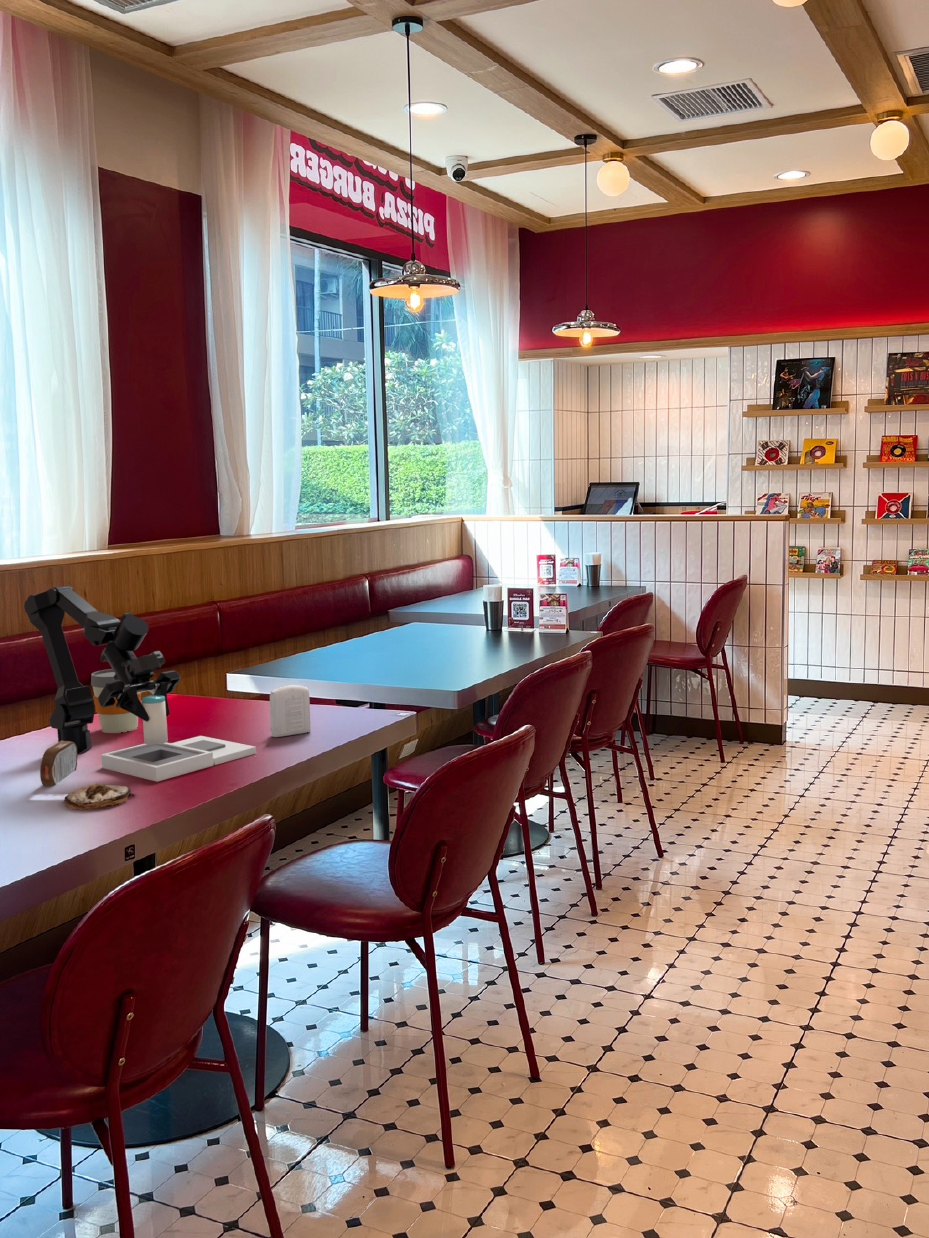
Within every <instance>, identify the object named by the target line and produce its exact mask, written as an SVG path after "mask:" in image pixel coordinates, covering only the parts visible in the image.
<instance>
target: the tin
mask: <svg viewBox="0 0 929 1238" xmlns="http://www.w3.org/2000/svg"><path fill="white" fill-rule="evenodd" d="M77 766H78V753H77V746H76V744H75V743H74V742H71V741H60V742H58V741H57V743H55V744H53V745H52V746H50V747H48V748H46V750H45V751H44V752H43V754H42V758H41V760H40V770H39V777H40V778H39V779H40V782H41V785H42V786H50V787H51V786H56V785H57V784H58V783H60V782H61V781H62V780H64V779H65V778H67V777H68V776H69V775H71V774H72V773H74V772H76V771H77Z"/></svg>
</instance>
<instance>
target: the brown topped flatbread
mask: <svg viewBox="0 0 929 1238" xmlns="http://www.w3.org/2000/svg"><path fill="white" fill-rule="evenodd" d="M130 793H131V789H130V788H129V787H128V786H125V785H118V784H117V785H116V784H103V783H102V784H100V783H94V784H89V785H87V786H82V787H81V788H79V789H78V788H77V789H75V790H74V791H72V792H69V793H67V795H66V796H65V797H64V802H63V804H65V807H67V808H68V809H71V810H76V811H78V809H79V811H80V810H81V811H87V810H88V809H94V810H103V809H109V808H113V807H117V806H120V805H119V804H121V803H124V804H125V803H127V801H128V799H129V794H130ZM127 798H128V799H127ZM126 800H127V801H126ZM116 805H117V806H116ZM121 805H122V804H121ZM88 811H89V810H88Z"/></svg>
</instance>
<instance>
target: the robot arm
mask: <svg viewBox="0 0 929 1238" xmlns="http://www.w3.org/2000/svg"><path fill="white" fill-rule="evenodd" d="M23 607H24V612H25V613H26V615H27V617H28V620H29V623H30V624H31V625H32V626H34V627H35V628H36V629H37V630H38V631H39V632H40V634H41V636H42V640H43V644H44V647H45V650H46V654H47V657H48V659H49V660H48V661H49V664H50V667H51V669H52V672H53V676H54V679H55V680H54V681H55V683H56V685H57V691H56V694H55V698H54V706H55V708H54V710H53V712H52V714H51V715H50V717H49V720H48V721H49V724H50V727H51V728H52V729H56V730H57V743H58V742H60V741H71V742H74V743H75V744H76V746H77V754H82V753H83V754H84V753H85V752H86V751H88V750H89V749H91V748H92V747H93V744H92V742H91V740H92V739H91V730H89V727H88V725H89V724H94V719H95V713H96V708H95V703H94V698H93V694H92V692H91V688H90V686H89V685H83V684H82V683H81V682H79V678H78V675H77V672H76V668H75V666H74V661H73V658H72V655H71V652H70V650H69V646H68V642H67V640H66V635H65V633H64V630H63V622H64V619H65V616H66V614H67V615H68V616H69V617H71V618H72V619H73V620H74V621H75V622H76V623H78V625H80V626H81V628H83V635H84V637H85V638H86V639H87V640H88V642H89V643H90V644H91V645H92V646H93V647H98V646H104V645H106V647H105V648H104V649H102V650H101V655H100V662H101V663H104V662H108V663H109V666H110V667H111V669H113V670H114V672H115V675H114V679H115V681H116V680H120V681H116V682H111V683H106V685H105V686H104V688H103V690H102V691H101V693H100V695H99V697H98V701H99V703H100V705H101V706H102V708H106V707H110V706H114V704H115V699H114V697H115V698H116V699H117V701H118V702H117V704H116V707H117V708H122V709H124V710H126V711H128V712H130V713H132V714H134V715H136V716H137V717H138V719H139V718H140V719H141V720H142V721H143V720H144V721H146V722H147V721H149V716H148V714H147V712H146V710H145V709H144V707H143V705H142V701H141V702H140V700H139V699H138V695H137V693H140V692H141V693H145V692H150V693H151V694H152V695H151V696H153V695H162V696H165V706H166V718H169V717H170V708H169V707H170V706H169V702H168V701H169V700H168V695H170V694H172V693H173V692H174V691H175V689H176V687H177V686H178V684H179V683H180V681H181V680H182V677H181V675H180V674H179V673H178V671H176V670H168V671H163V672H160V673H159V676H157V678H156V679H155V680H151V678H153V677H154V675H155V671H156V670H157V669H161V667H162V666H163V665H165V663H166V660H165V657H164V655H163V654H162V652H161V651H160V650H156V651H153V652H152V653H150V654H148V655H147V654H146V655H142V656H139V657H137V656H136V654H135V653H134V651H137V649H138V648H139V647H140V646H141V644H142V642H143V641H144V638H145V637H146V635H147V634H148V632H149V624H148V623H147V622H146V621H145V620H143V619H142V618H140V617H139V616H134V615H133V613H132V612H129V613H127V612H126V613H123V614H122V616H121V618H120V619H118V618H117V617H115V616H113V615H111V614H107V613H104V612H100V611H98V610H97V609H96V608H95V607H94V606H92V605H91V604H90V603H89V602H88V601H86V600H85V599H84V598H82V597H81V596H80V595H79V594H78V593H77V592H75V589H74V587H72V586H69V585H64V586H63V585H61V586H53V587H52V588H50V589H48V590H46V591H43V592H40V593H37V594H30V595H29V596H28V597H27V599H26V600H25V601H24V606H23Z"/></svg>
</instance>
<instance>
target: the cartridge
mask: <svg viewBox="0 0 929 1238" xmlns="http://www.w3.org/2000/svg"><path fill="white" fill-rule="evenodd" d="M141 704H142V705H143V707H144V709H145V710H146V712H147V714H148V716H149V721H147V722H146V721H144V720H143V719H142V723H143V725H142V727H143V728H142V729H143V739H144V740H143V742H144V743H143V744H149V745H155V744H162V743H166V742H167V743H168V741H169V740H168V723H167V717H166V706H165V696H162V695H147V696H143V697H141Z"/></svg>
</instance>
